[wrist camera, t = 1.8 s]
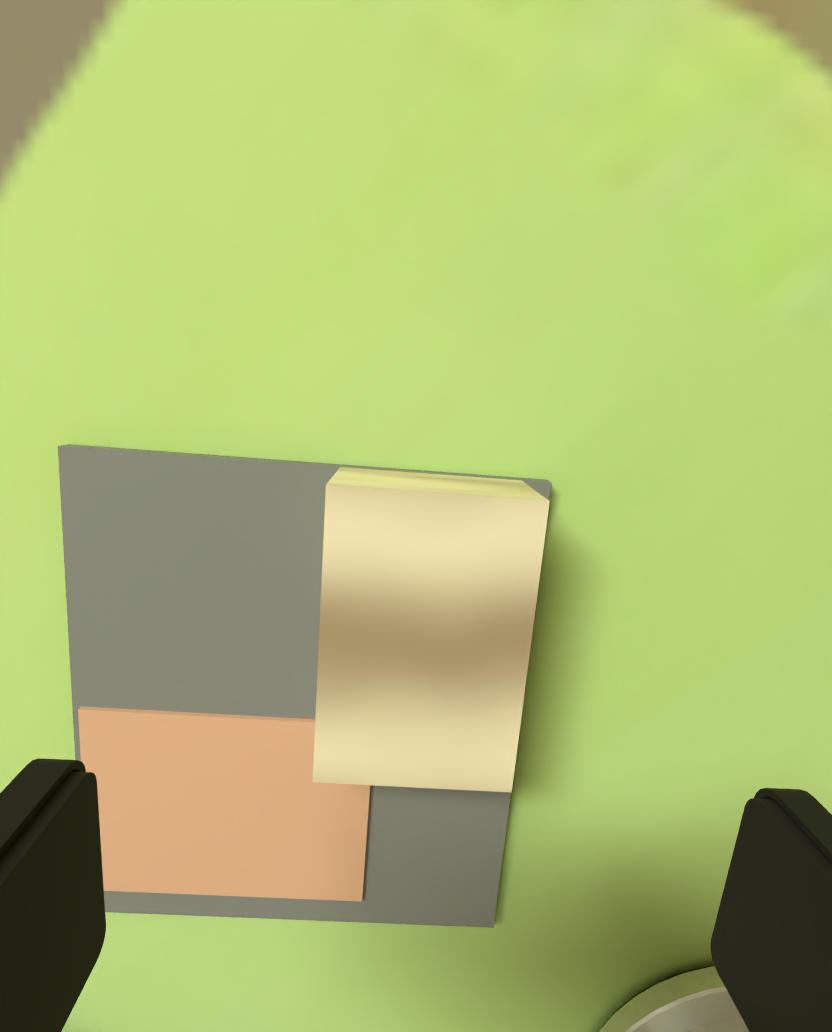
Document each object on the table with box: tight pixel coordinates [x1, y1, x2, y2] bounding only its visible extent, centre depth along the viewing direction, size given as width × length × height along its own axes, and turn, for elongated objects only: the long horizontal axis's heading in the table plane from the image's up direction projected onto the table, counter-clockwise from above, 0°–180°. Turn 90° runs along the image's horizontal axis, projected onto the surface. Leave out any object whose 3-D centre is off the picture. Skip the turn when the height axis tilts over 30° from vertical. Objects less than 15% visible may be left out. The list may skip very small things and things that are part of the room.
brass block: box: [313, 467, 550, 792], centre depth 18 cm, size 9×6×4 cm, turn 175°
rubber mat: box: [58, 444, 552, 928], centre depth 21 cm, size 18×16×1 cm
